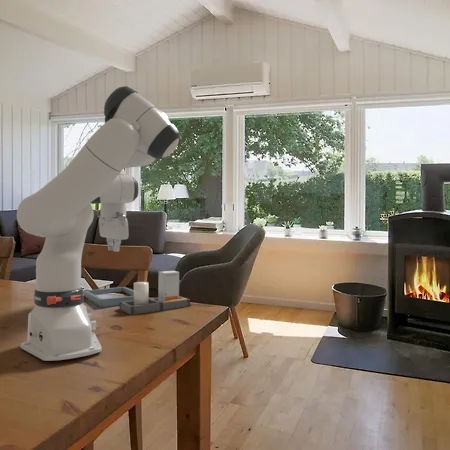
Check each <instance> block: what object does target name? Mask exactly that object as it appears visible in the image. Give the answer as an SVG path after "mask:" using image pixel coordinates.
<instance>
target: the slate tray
mask: <svg viewBox="0 0 450 450" xmlns="http://www.w3.org/2000/svg"><path fill="white" fill-rule="evenodd" d="M117 292H118V293H119V292H124V293H126V294H128V295H127V296H118V297H108V298H101V297H100V296H98V295H104V294H103V293H105V294H112V293H117ZM83 293H84V296H85V297H84V298H86V299H87V298H88V299H87V300H89V301H90V300H91V301H90V302H92V303H93V304H94V305H96V306H97V305H98V306H97V307H99V309H100V308H101V309H105V308H111V307H116V306H117V307H118V306H119V302H123V301H132V300H134V289H132V288H129V287H126V286H119V287H118V286H117V287H109V288H98V289H89V290H88V289H87V290H83ZM95 294H97V295H95Z"/></svg>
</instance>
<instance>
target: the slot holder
mask: <svg viewBox="0 0 450 450" xmlns="http://www.w3.org/2000/svg"><path fill="white" fill-rule="evenodd" d="M118 306H119V310H120V311H122V312H124V313H125V314H128V315H131V316H133V315H139V314H140V315H141V314H146V313H157V312H162V311H168V310H175V309H179V308H185V307H190V306H191V299H190V298H188V297H184V296H180V295H179V299H175V300H167V301H162V302H159V301H158V297H152V298H151V297H150V298H149V304H144V305H136V306H134V300H132V301H123V302H119V305H118Z"/></svg>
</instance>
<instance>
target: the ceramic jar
mask: <svg viewBox="0 0 450 450" xmlns="http://www.w3.org/2000/svg"><path fill="white" fill-rule="evenodd" d="M149 288H150V287H149V281H136V282H133V290H134V306H136V305H144V304H149V296H150V295H149V292H150V291H149V290H150V289H149Z"/></svg>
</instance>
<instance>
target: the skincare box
mask: <svg viewBox="0 0 450 450" xmlns="http://www.w3.org/2000/svg"><path fill="white" fill-rule="evenodd" d="M157 280H158V291H157V292H158V297H157V298H158V301H159V302H162V301H167V300H175V299H179V296H180V271H178V270H177V271H176V270H164V271H158V279H157Z"/></svg>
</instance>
